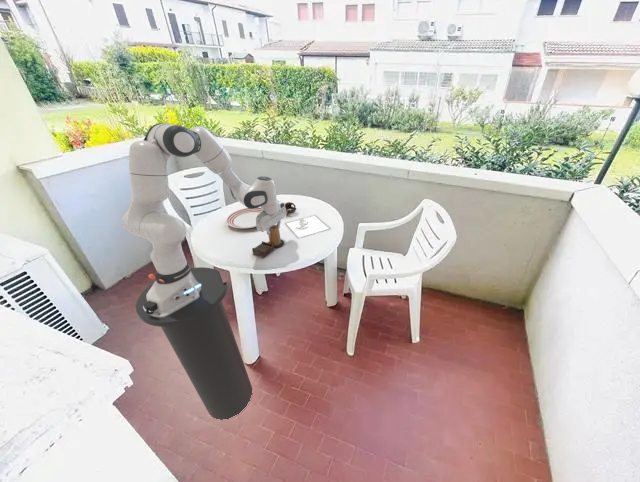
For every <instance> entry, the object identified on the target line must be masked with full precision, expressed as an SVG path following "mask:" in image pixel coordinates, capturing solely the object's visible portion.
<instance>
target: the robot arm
mask: <svg viewBox="0 0 640 482" xmlns="http://www.w3.org/2000/svg"><path fill="white" fill-rule="evenodd" d="M192 155H194V156H195V157H196V158H197V159H198V160H199V161H200V162H201V164H202V165H203V166H204V167H205V168H207V169H208V170H209V171H210V172H211V173H213V174H215V175H217V176H219V178H220V179H221V180H222V181H223V182H224V183H225V184H226V186H227V187H228V188H229V190H230V191H229V192H230V195H231V197H232V198H233V199H234V200H235V201H237V202H238V203H240V204H242V205H243V206H244V207H245V208H250V209H256V208H258V207H260V208H261V211H262V212H261V213H260V214H258V215H257V217H256V227H255V228H256V230H257V231H259V232H261V233H263V232H266V234H267V236H269V235H270V234H271V231H269V228H270V227H271V226H273V225H278V226H279V229H280V228H281V224H282V223H281V222H282V221H283V219H285V218H286V217H287V215H286V208H285V203H286V202H285V201H281V200H278V198H277V195H278V194H277V188H276V184H275V181H274V179H273V178H271V177H269V176H258V177H257V178H256V180H255V181H254V182H253V183H252V184H248V183H247V182H246V181H244V180H241V179H240V178H239V176H238V175H237V173H235V172H234V171H233V169H232V165H233V159H232V157H231V156H232V155H230V153H229V152H228V150H227V149H226V147H225V146H224V145H223V144H222V143H221V141H220V140H219V139H218V138H217V137H216V136H215V135H214V134H213V133H212V132H211V131H209V130H208V129H207V128H206V127H204V126H200V125H197V126H193V127H191V128H187V127H185V126H183V125H179V124H174V123H169V122H168V123H156V124H154V125H152V126H151V127H149V129H148V130H147V133H146V135H145V137H144V138H143V140H137V141H134V142H132V143H131V144H130V147H129V152H128V171H129V178H130V181H129V182H130V189H131V197H130V203H129V208H128V210H127V211H125V213H124V214H123V215H122V218H121V224H122V226H123V228H124V229H125V230H126V231H127V232H129V233H130V234H132V235H133V236H135V237H139V238H143V239H145V240H148V242H150V243H151V245H152V250H151V252H150V254H149V257H150V260H151V262H152V264H153V266H154V268H155V270H156V271H155V274H154V273H149V274H148V279H150V280H155V281H154V282H153V283H154V284H153V283H152V284H153V285H152V287H151V288H150V290H149V291H148V293H147V295H146V299H147V302H146V303H145V304H143V309H144V311H145V312H146V313H147V314H149V315H151V316H153V317H157V318H164V317H167V316H168V315H170V314H172V313H174V312H176V311H177V310H179V309H181V308H183V307H184V306H186V305H188V304H190V303H191V302H193V301H195V300H197V299H198V298H199V297H200V295H199V293H200V290H201V284H199V283H198V281H197V280H196V279H195V277H194V276H193V274H192V272H191V268H192V267H191V265H190V263H189V261H188V260H187V259H186V256H185V253H184V251H183V247H182V241H183V240H184V239H185V238H186V235H187V232H188V231H187V226H186V224H185V222H183V220H181V219H180V218H178V217H176V216H174V215H171V214H168V213H167V214H166V213H163V212H162V207H163V204H164V202H165V201H166V200H167V199H168V198H169V196H170V187H169V177H168V175H169V174H168V168H167V166H168V161H169V158H170V157H178V158H187V157H190V156H192Z"/></svg>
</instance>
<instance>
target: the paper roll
mask: <svg viewBox="0 0 640 482" xmlns="http://www.w3.org/2000/svg"><path fill="white" fill-rule="evenodd" d="M269 231H271V234H270V235H268V242H269V241H270V244H273V246H278V245H280V244H281V240H282V238H281V233H280V228H279V226H278V225H277V224H274V225H273V226H271V227H270V228H269Z"/></svg>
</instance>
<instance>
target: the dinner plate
mask: <svg viewBox="0 0 640 482" xmlns="http://www.w3.org/2000/svg"><path fill="white" fill-rule="evenodd" d="M261 212H262V211H261V206H260V207H258V208H256V209H250V208H247V207H245V208H241V209H238V210H236V211H233V212H231V213H230V214H229V215H228V216H227V218H226V219H225V222H226V224H227V225H228V226H229V227H231V228H233V229H243V230H244V229H252V228H257V227H256V217H257V215H258V214H260V213H261Z"/></svg>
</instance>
